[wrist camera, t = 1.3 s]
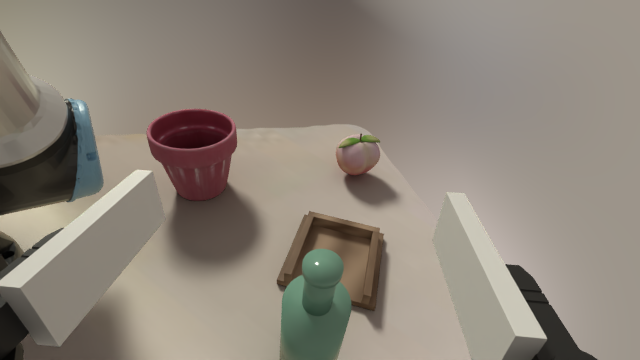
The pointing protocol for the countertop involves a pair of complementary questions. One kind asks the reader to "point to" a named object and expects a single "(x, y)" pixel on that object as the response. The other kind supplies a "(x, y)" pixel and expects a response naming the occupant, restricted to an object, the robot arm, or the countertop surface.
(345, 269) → the u rest
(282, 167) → the countertop surface
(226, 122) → the plant pot
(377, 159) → the decorative fruit
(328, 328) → the green bottle
